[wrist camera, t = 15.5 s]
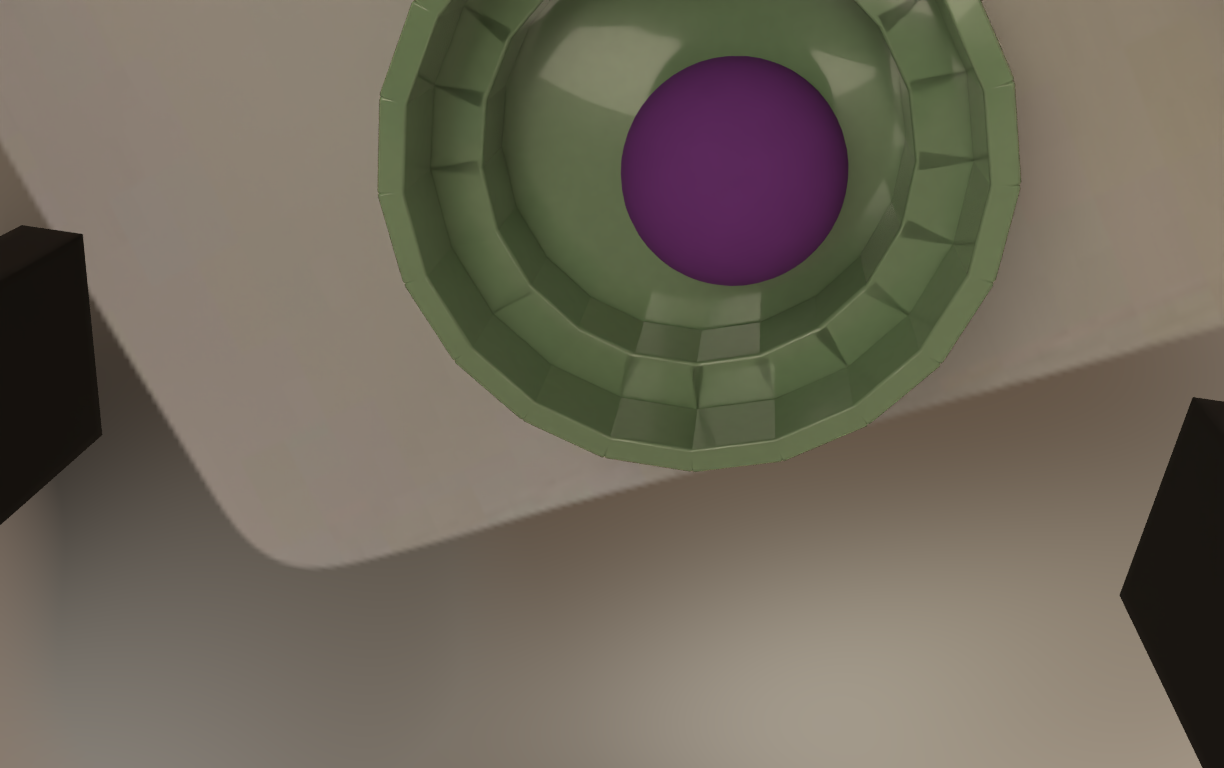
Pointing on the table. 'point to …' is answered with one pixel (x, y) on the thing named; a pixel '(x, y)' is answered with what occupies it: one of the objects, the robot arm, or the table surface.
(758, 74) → the ball
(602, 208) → the bowl
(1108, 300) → the table surface
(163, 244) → the table surface
